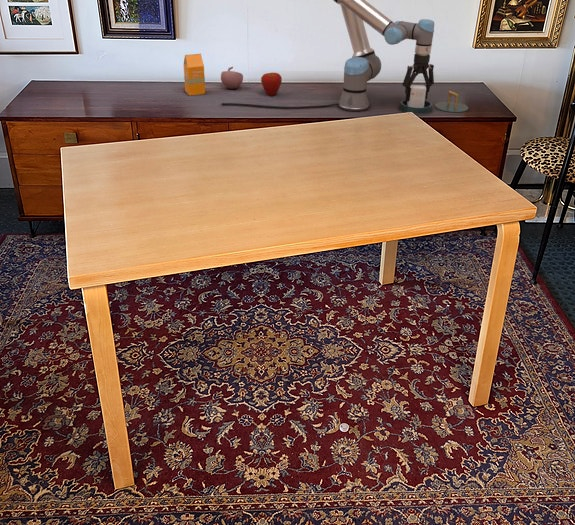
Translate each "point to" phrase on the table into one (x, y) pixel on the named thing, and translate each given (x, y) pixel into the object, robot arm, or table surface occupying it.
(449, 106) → the tin lid
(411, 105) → the small box
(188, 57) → the orange juice
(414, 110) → the tin
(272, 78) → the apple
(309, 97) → the table surface
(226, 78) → the decorative fruit
